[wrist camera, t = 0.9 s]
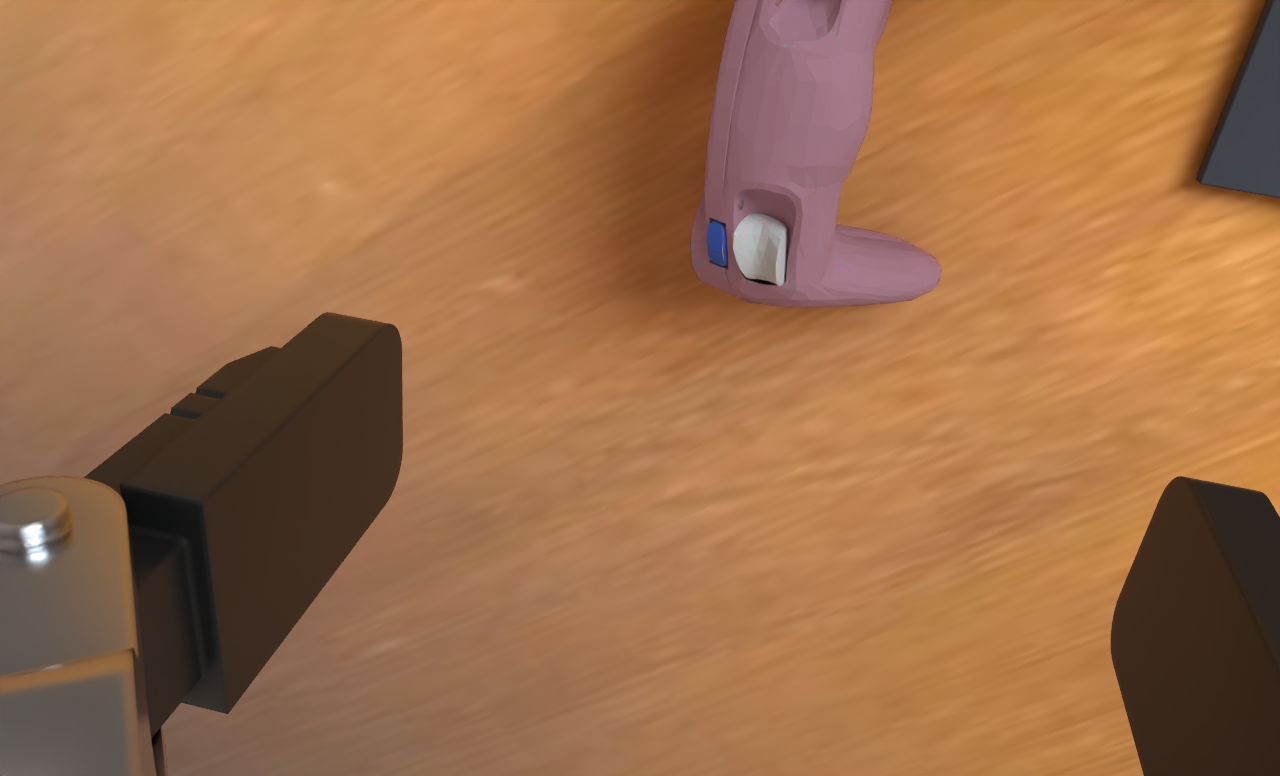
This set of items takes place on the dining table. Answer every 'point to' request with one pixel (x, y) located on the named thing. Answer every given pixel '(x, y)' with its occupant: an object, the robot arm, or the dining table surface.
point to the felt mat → (1250, 118)
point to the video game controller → (796, 162)
